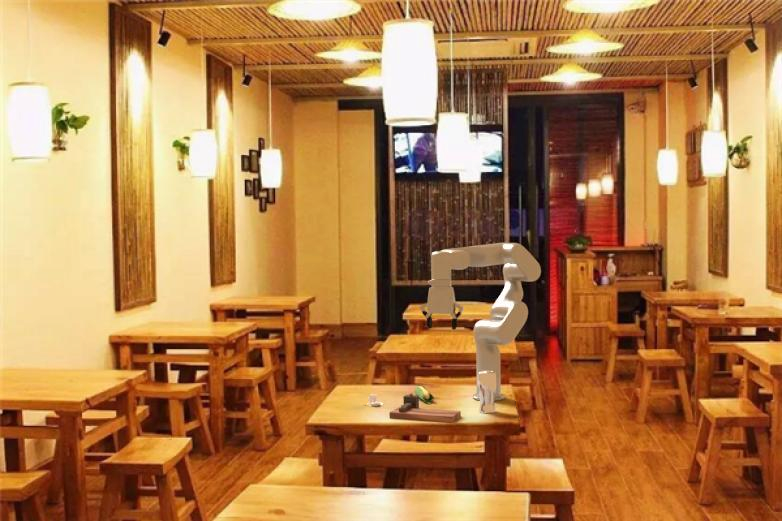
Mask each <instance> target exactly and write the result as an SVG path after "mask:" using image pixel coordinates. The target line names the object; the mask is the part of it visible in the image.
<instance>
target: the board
mask: <svg viewBox="0 0 782 521" xmlns="http://www.w3.org/2000/svg"><path fill="white" fill-rule="evenodd" d="M400 407H401V406H399V407H396V408H394V409H393V410H391V411H389V419H398V420H399V419H400V420H411V419H412V420H413V421H414V420H415V421H426V422H427V421H429V422H441V423H443V422H444V423H454V422H455V421H456V420H458V419H459V418H460V417H461V414H462V413H461V410H448V409H437V408H436V409H433V408H420V407H419V408H410V409H408V410H407V411H406V412H399V408H400Z"/></svg>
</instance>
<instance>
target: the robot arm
mask: <svg viewBox="0 0 782 521" xmlns="http://www.w3.org/2000/svg"><path fill="white" fill-rule="evenodd" d="M430 258H431V259H430V261H431V262H430V264H431V265H430V266H431V271H430V272H431V279H430V280H428V281H427V284H428V285H430V286H431V287H429V288H428V296H427V302H425V303H424V304H421V305H420V306H419V309H420V311H421V313H422V315H423V316H424V317H425V319H426V327H427V329H428V330H430V329H432V328H433V317H432V315H434V314H435V315H437V314H438V315H450V316H451V317H452V319H451V329H452V330H456V329H457V327H458V318H459V317H460V316H461V315H462V313H463V311H464V310H465V307H464V306H463V305H461V304H459V303H457V302H456V297H455V296H456V295H455V290H454V287H453V286H452V270H455V271H457V270H460V271H461V270H465V269H467V268H468V267H470V268H480V267H481V268H484V267H490V266H498V265H503V268H502V275H503V282H504V286H503V287H504V288H503V289H502V290H501V293H500V295H499V296H498V298H496V299H495V302H494V303H493V304H492V305H491V308H490V311H489V316H490V318H491V319H489V318H483V319H480V320H478V321H476V323H475V324H474V327H473V337H474V344H475V348H476V349H475V351H476V352H475V354H476V355H475V356H476V359H475V360H476V361H475V362H476V393H474V394H472V399H473V400H476V401H480V397H479V392H478V371H483V370H491V371H495V372H496V392H495V399H494V402H495V401H502V400H504V399H505V394H503V393H502V392H501V391H502V390H501V380H502V379H501V376H502V375H501V350H500V349H499V346H508V345H510V344H512V343H513V342H514V340H515V339H516V337H517V335H518V334H519V332H520V331H522V330H521V329H522V328H523V327H524V325H525V324H526V322H527V319H528V315H529V309H528V305H527V304H526V303H525V302H523V301H522V299H523V298H524V290H523V287H522V282H528V283H529V282H535V281H537V280H538V279H539V278H540V277H541V273H542V269H541V265H540V263H539V262H538V261H537V259H535V257H534V255H532V253H531V252H530V251H528V249H526V247H525V246H523V245H522V244H520V243H517V242H497V243H490V244H489V243H488V244H480V245H472V246H471V245H470V246H464V247H463V246H462V247H453V248H445V249H442V250H439V251H438V250H437V251H436V250H435V251H433V252H432V253H431V256H430ZM426 308H427V311H426ZM456 308H457V309H458V311H457V310H456ZM456 311H457V313H456Z"/></svg>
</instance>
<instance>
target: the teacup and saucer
mask: <svg viewBox="0 0 782 521" xmlns="http://www.w3.org/2000/svg"><path fill="white" fill-rule="evenodd" d="M377 395H378V394H375V393H371V394H370V393H369V394H368V402H369V403H368V404H369V405H370V404H371V405H370V407H379V405H380V403H381V405H380V406H383V405H384V402H380V401H377V398H378V397H377Z"/></svg>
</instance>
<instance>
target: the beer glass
mask: <svg viewBox="0 0 782 521" xmlns="http://www.w3.org/2000/svg"><path fill="white" fill-rule="evenodd" d="M478 392H479V397H480V400H479V410H478V412H479V413H481V414H493V413H496V407H495V401H494V399H495V392H496V372H495V371H491V370H483V371H478Z"/></svg>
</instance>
